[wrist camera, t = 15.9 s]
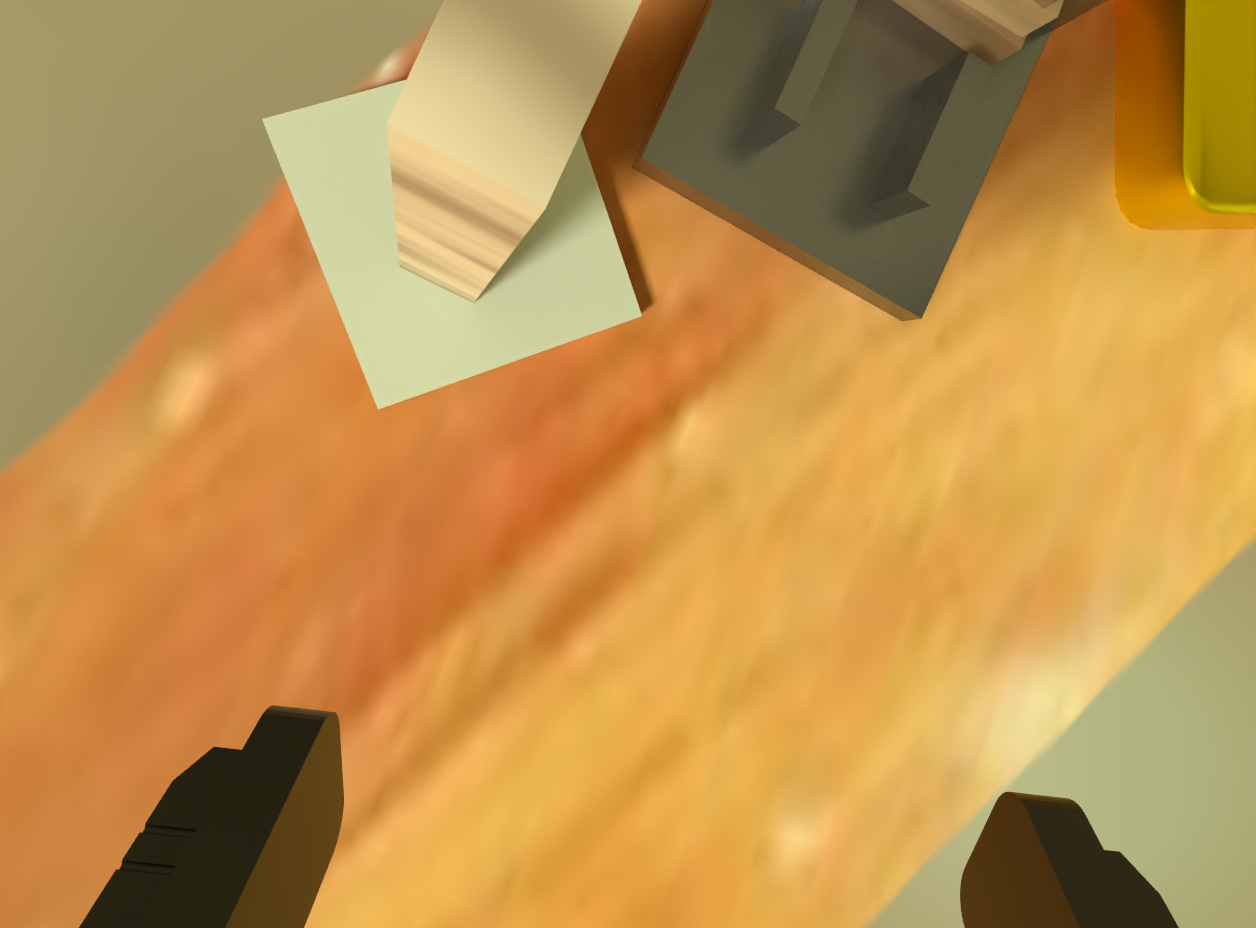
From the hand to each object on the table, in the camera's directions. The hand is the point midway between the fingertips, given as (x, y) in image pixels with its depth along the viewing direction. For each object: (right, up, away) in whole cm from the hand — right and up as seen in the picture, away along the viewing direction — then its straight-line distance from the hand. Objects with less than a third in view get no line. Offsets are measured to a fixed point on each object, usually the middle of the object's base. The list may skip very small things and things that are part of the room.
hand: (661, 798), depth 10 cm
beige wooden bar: (-7, +13, +22) cm, 26 cm away
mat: (-7, +13, +23) cm, 27 cm away
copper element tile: (+30, +23, +32) cm, 50 cm away
